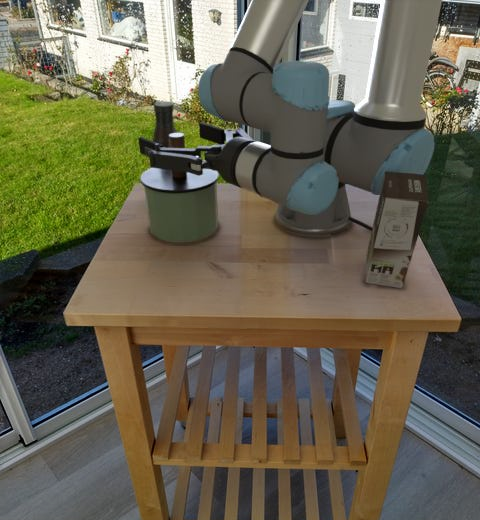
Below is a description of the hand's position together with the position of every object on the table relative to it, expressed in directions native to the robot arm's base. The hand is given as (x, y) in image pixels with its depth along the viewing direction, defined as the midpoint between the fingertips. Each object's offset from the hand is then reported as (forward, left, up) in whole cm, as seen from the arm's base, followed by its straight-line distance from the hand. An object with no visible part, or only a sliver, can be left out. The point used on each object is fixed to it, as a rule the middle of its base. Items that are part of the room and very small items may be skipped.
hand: (172, 137), depth 92 cm
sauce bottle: (+6, -16, -18) cm, 25 cm away
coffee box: (-39, +16, -17) cm, 46 cm away
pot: (-1, +2, -18) cm, 18 cm away
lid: (-1, +2, -7) cm, 7 cm away
